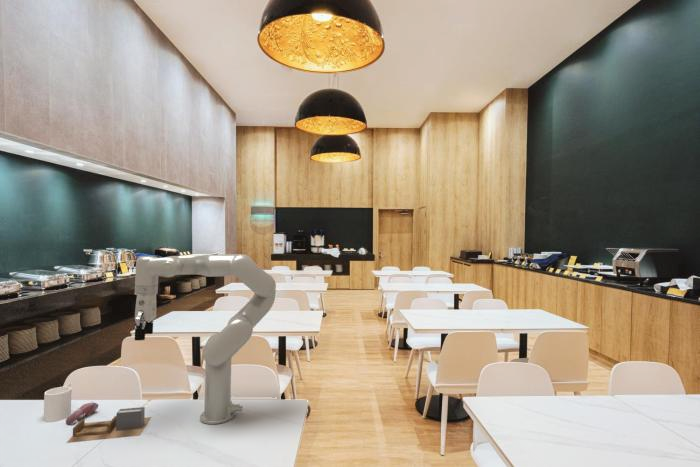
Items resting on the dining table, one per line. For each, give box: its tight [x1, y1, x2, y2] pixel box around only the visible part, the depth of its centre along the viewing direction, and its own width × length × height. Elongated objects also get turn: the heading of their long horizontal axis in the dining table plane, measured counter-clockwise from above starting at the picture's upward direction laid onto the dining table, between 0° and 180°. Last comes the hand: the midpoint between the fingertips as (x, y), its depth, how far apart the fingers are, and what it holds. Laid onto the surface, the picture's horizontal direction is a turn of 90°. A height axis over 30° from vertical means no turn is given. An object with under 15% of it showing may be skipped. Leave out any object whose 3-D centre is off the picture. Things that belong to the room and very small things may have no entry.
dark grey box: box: [115, 406, 146, 431], centre depth 135 cm, size 8×4×6 cm, turn 103°
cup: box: [43, 383, 73, 423], centre depth 147 cm, size 8×12×10 cm
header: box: [65, 415, 152, 444], centre depth 134 cm, size 22×14×4 cm, turn 103°
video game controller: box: [65, 401, 99, 425], centre depth 143 cm, size 10×5×7 cm, turn 169°
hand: (143, 336), depth 139 cm, fingers open, 9 cm apart
